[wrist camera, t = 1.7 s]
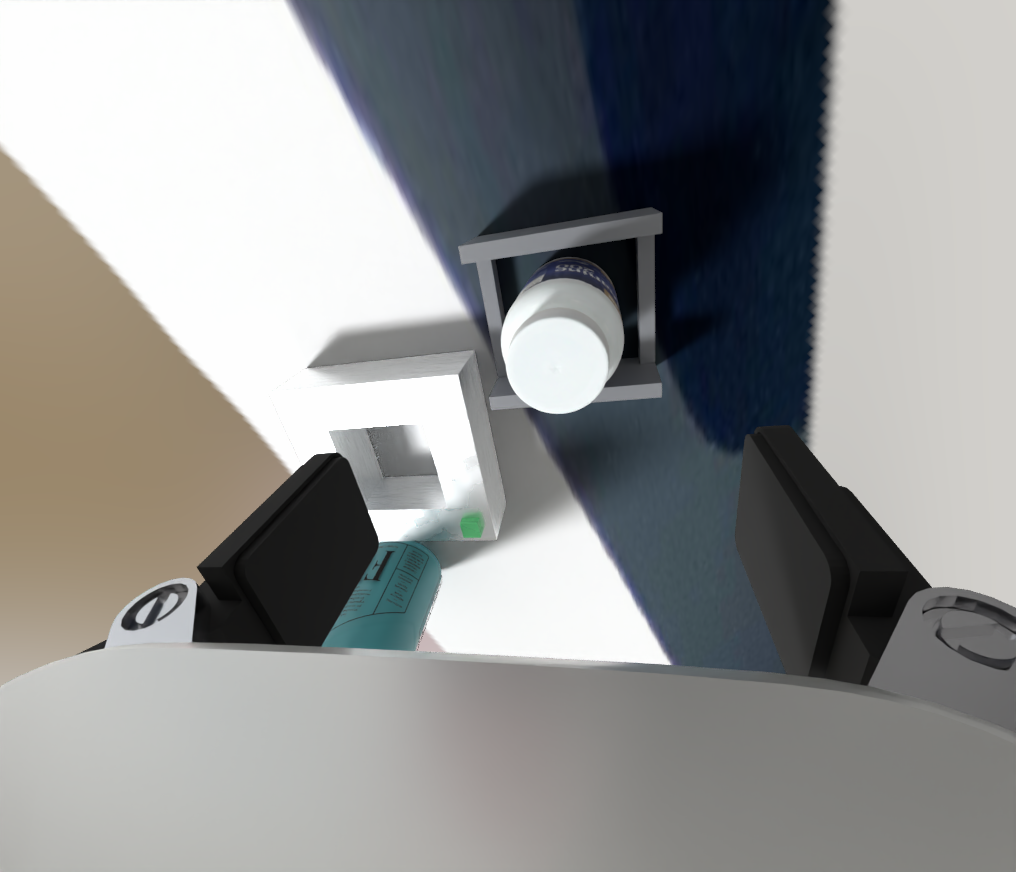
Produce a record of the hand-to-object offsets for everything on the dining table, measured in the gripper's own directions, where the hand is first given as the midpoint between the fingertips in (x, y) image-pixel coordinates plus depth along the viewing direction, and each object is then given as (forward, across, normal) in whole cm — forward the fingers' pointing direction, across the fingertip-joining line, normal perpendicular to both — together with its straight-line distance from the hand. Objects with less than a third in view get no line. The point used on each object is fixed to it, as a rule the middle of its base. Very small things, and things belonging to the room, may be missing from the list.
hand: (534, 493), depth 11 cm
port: (+17, +12, +8) cm, 22 cm away
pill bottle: (+18, 0, 0) cm, 18 cm away
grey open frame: (+17, 0, 0) cm, 17 cm away
